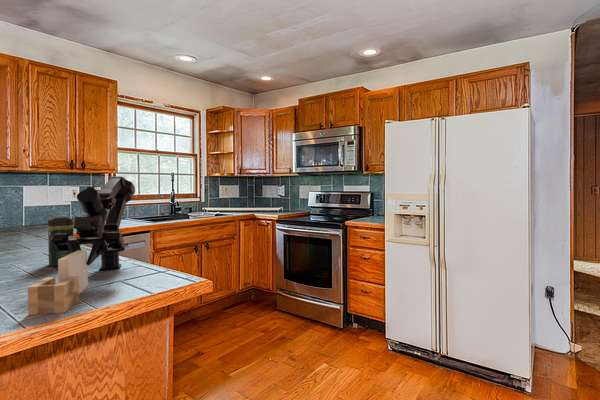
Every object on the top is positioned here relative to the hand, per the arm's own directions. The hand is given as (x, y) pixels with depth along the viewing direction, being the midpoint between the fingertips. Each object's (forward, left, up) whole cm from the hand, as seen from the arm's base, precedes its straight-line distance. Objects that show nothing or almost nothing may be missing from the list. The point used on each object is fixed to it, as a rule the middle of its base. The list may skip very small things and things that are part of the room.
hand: (81, 265), depth 100 cm
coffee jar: (-39, -14, -7) cm, 42 cm away
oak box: (+16, -3, -7) cm, 18 cm away
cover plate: (+5, -1, -7) cm, 9 cm away
